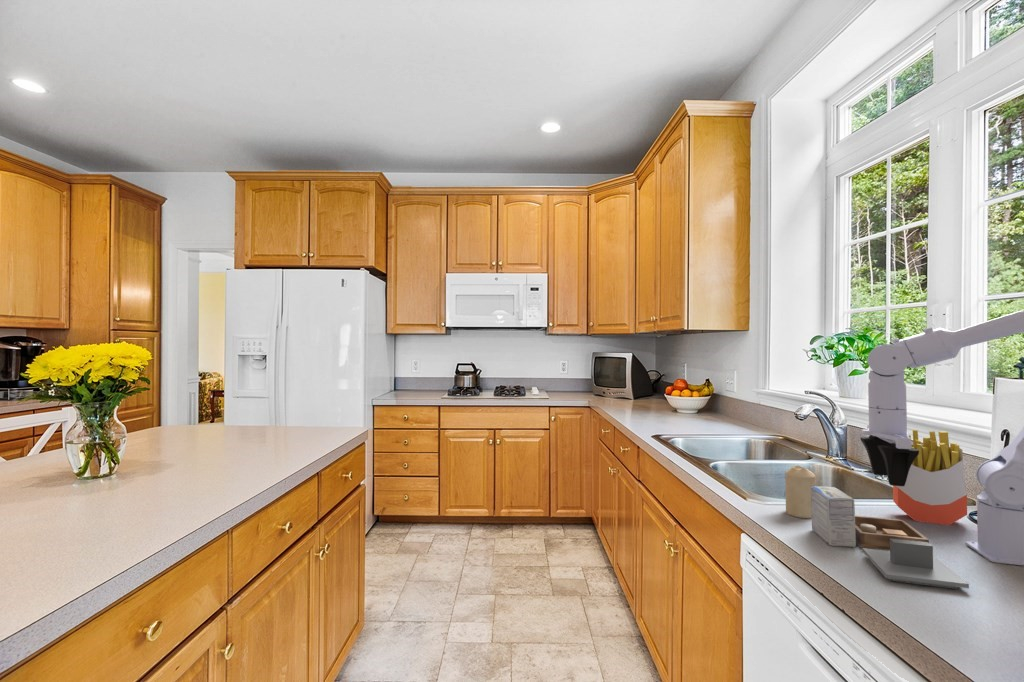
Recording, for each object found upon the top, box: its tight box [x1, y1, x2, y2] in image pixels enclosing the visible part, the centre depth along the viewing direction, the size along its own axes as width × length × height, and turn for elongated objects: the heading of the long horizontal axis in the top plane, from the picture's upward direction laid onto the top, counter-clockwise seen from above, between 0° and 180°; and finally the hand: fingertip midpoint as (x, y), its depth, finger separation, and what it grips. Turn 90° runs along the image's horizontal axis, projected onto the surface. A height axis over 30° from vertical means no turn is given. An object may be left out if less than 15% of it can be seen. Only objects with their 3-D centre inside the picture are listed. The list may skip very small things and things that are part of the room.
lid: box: [861, 539, 970, 589], centre depth 77 cm, size 10×10×5 cm
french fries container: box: [892, 429, 968, 526], centre depth 100 cm, size 5×11×18 cm, turn 63°
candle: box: [784, 465, 817, 519], centre depth 104 cm, size 6×6×10 cm
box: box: [855, 515, 930, 551], centre depth 90 cm, size 10×10×2 cm
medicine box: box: [811, 485, 857, 548], centre depth 91 cm, size 8×4×9 cm, turn 168°
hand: (888, 479), depth 92 cm, fingers open, 7 cm apart
